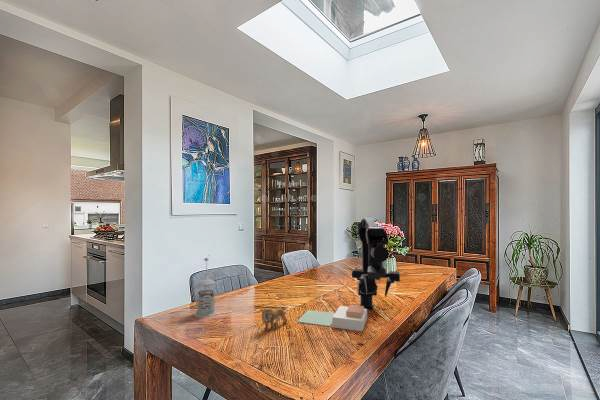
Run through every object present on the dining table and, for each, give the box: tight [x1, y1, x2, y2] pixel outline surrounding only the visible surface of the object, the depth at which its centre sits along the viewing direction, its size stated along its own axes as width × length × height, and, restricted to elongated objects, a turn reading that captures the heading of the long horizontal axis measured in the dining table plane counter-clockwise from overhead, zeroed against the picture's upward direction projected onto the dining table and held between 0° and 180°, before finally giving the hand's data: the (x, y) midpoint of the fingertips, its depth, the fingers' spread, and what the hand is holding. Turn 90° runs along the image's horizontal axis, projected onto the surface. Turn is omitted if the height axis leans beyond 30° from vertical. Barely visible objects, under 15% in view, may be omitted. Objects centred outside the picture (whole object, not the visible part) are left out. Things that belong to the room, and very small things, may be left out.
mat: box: [296, 309, 336, 328], centre depth 131 cm, size 15×14×1 cm
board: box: [331, 305, 368, 332], centre depth 126 cm, size 15×12×4 cm
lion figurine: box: [261, 307, 287, 331], centre depth 122 cm, size 15×5×9 cm, turn 151°
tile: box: [346, 304, 364, 318], centre depth 126 cm, size 9×6×2 cm, turn 161°
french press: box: [190, 257, 218, 319], centre depth 136 cm, size 10×12×25 cm
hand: (375, 296), depth 123 cm, fingers open, 7 cm apart
